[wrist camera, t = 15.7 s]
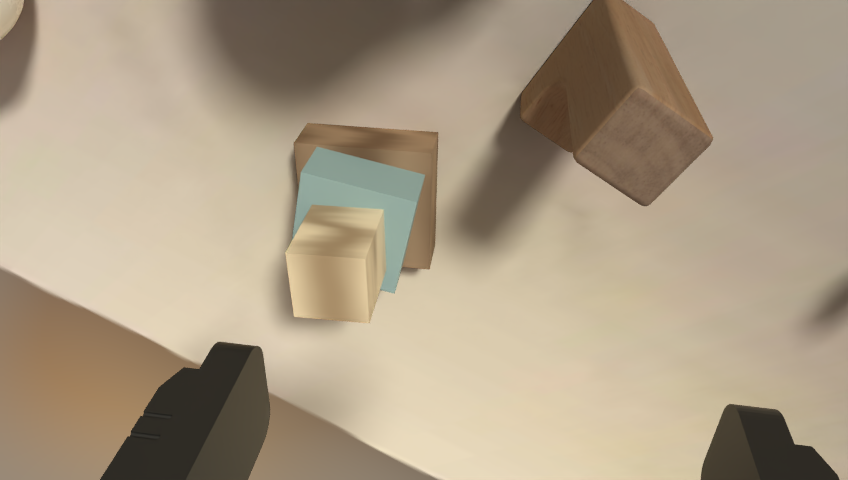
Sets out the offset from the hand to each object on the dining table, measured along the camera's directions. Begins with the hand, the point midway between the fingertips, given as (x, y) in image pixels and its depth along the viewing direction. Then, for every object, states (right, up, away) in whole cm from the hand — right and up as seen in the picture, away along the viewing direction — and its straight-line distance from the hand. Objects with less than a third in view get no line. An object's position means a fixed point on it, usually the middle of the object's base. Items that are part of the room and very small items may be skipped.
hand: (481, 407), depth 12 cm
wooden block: (+10, +15, +35) cm, 39 cm away
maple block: (-6, +3, +36) cm, 36 cm away
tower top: (-6, +5, +39) cm, 40 cm away
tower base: (-5, +7, +42) cm, 43 cm away
